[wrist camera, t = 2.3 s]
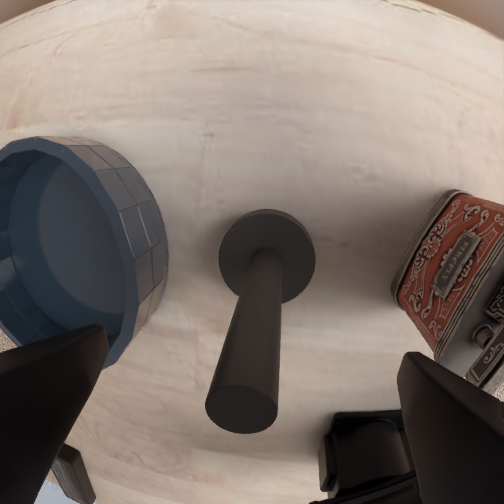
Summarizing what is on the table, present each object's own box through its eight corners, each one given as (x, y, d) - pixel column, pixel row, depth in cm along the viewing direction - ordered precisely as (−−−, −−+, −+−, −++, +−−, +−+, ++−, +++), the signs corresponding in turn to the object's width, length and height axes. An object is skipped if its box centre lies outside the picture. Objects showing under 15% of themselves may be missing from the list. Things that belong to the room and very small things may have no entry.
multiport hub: (79, 451, 26) (71, 464, 24) (96, 498, 31) (91, 509, 29) (49, 435, 27) (40, 447, 24) (71, 486, 31) (65, 496, 29)
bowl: (169, 130, 16) (134, 122, 12) (175, 355, 20) (152, 397, 16) (4, 150, 17) (-39, 154, 13) (25, 321, 21) (-7, 346, 17)
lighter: (446, 177, 15) (571, 205, 6) (481, 208, 16) (598, 254, 6) (378, 292, 18) (445, 407, 8) (416, 315, 18) (489, 422, 8)
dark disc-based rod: (316, 212, 17) (381, 321, 5) (307, 297, 18) (330, 474, 7) (224, 206, 17) (116, 298, 6) (222, 291, 19) (150, 454, 7)
